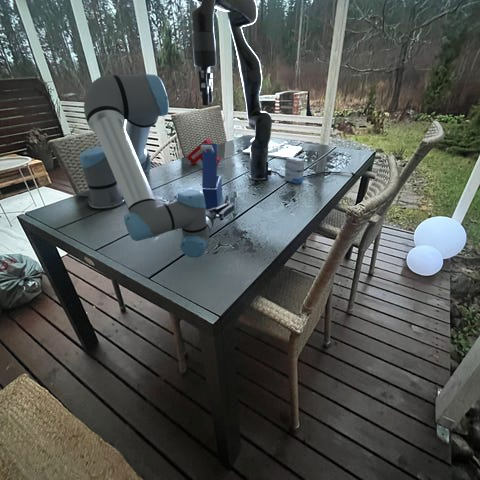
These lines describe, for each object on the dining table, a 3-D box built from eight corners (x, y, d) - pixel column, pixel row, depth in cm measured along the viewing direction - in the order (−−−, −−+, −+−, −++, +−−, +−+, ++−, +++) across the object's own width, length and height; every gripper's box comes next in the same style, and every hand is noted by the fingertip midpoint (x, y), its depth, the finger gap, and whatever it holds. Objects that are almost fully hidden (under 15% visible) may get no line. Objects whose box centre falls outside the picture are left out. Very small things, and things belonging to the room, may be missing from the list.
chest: (210, 197, 127) (208, 175, 121) (222, 197, 127) (221, 175, 121) (204, 212, 113) (202, 189, 107) (217, 213, 113) (216, 189, 107)
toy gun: (224, 159, 165) (208, 138, 162) (221, 161, 162) (205, 139, 158) (204, 174, 175) (189, 154, 172) (201, 176, 172) (186, 156, 168)
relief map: (291, 159, 177) (291, 151, 174) (243, 153, 190) (243, 145, 187) (302, 149, 197) (303, 142, 194) (258, 144, 211) (258, 137, 208)
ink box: (302, 181, 142) (305, 159, 136) (297, 184, 139) (300, 161, 133) (289, 177, 147) (291, 156, 141) (284, 180, 144) (285, 158, 138)
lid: (203, 144, 106) (198, 137, 98) (217, 144, 106) (213, 137, 97) (202, 187, 108) (198, 185, 99) (216, 188, 107) (213, 185, 99)
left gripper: (166, 232, 94) (181, 206, 112) (238, 234, 93) (241, 207, 111) (163, 213, 90) (178, 189, 108) (238, 214, 89) (241, 189, 107)
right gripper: (197, 50, 96) (201, 101, 105) (188, 48, 84) (193, 106, 93) (218, 50, 96) (220, 101, 105) (212, 48, 84) (215, 106, 93)
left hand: (210, 198), depth 110 cm, fingers open, 13 cm apart
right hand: (207, 103), depth 99 cm, fingers open, 8 cm apart
